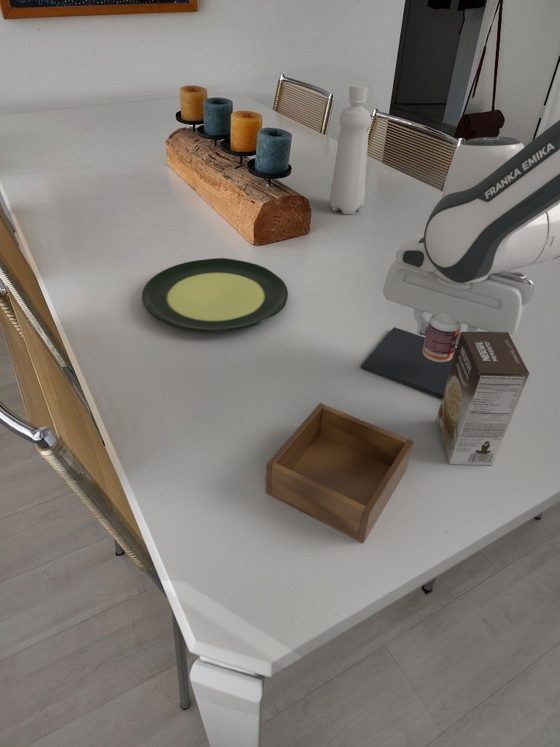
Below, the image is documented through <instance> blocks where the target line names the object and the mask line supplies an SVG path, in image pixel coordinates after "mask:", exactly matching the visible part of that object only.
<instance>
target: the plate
mask: <svg viewBox="0 0 560 747" xmlns="http://www.w3.org/2000/svg"><path fill="white" fill-rule="evenodd" d="M288 297H289V291H288V287H287V284H286V283H285V282H284V280H283V279H282V278H281V277H279V275H277V274H275V273H274V272H273V271H271V270H269V268H266V267H264V266H262V265H259V264H256V263H254V262H253V263H252V262H249V261H244V260H239V259H233V258H228V257H227V258H226V257H216V258H205V259H196V260H191V261H186V262H181V263H179V264H175V265H173V266H170V267H167V268H165V269H164V270H162V271H160V272H158V273H156V274H155V275H154V276H153V277H151V278H150V279H149V280H148V281H147V282H146V283H145V285H144V287H143V289H142V291H141V301H142V304H143V307H144V308H145V309H146V311H147V312H148V313H149V314H150V315H151V316H153V317H154V318H155V319H158V320H159V321H162V322H164V323H166V324H169V325H170V326H174V327H175V328H179V329H184V330H189V331H195V332H227V331H229V332H230V331H236V330H240V329H247V328H249V327H253V326H256V325H259V324H261V323H263V322H265V321H267V320H269V319H271V318H273V317H274V316H276V315H277V314H279V313H280V312H281V311H282V310H283V309H284V308H285V307H286V304H287V301H288V299H289V298H288Z"/></svg>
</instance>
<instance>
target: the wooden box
mask: <svg viewBox="0 0 560 747" xmlns="http://www.w3.org/2000/svg"><path fill="white" fill-rule="evenodd" d="M413 446H414V441H413V440H410V439H408V438H406V437H404V436H401V435H398V434H396V433H394V432H391V431H389V430H386V429H384V428H381V427H380V426H376V425H374V424H372V423H369V422H367V421H365V420H362V419H360V418H358V417H355V416H353V415H350V414H348V413H345V412H343V411H341V410H338V409H336V408H334V407H331V406H328V405H326V404H324V403H322V402H320V403H319V404H318V405H317V406H316V407H315V408H314V409H313V411H311V413H310V414H309V415H308V416H307V417H306V419H304V420H303V422H302V423H301V424H300V425H299V426H298V427H297V428H296V429H295V431H294V432H293V433H292V434H291V435H290V436H289V438H288V439H287V440H286V441H285V442H284V443H283V445H281V447H280V448H278V450H277V451H276V452H275V453H274V455H273V456H272V457H271V458H270V459H269V460H268V462H267V463H266V467H265V468H266V469H265V470H266V471H265V473H266V474H265V494H266V495H269V496H270V497H273V498H274V499H276V500H278V501H280V502H282V503H284V504H286V505H288V506H290V507H292V508H294V509H296V510H298V511H299V512H301V513H304V514H305V515H307V516H309V517H311V518H313V519H315V520H317V521H319V522H321V523H323V524H325V525H327V526H329V527H331V528H332V529H335V530H336V531H339V532H340V533H342V534H344V535H346V536H348V537H350V538H351V539H353V540H356V541H358V542H360V543H362V544H364V543H365V542H366V539H367V538H368V537H369V535H370V533H371V532H372V530H373V528H374V526H375V525H376V522H377V521H378V519H379V518H380V516H381V515H382V513H383V512H384V509H385V507H386V506H387V504H388V502H389V501H390V499H391V497H392V496H393V495H394V493H395V490H396V489H397V487H398V485H399V484H400V482H401V480H402V478H403V477H404V476H405V474H406V472H407V470H408V465H409V461H410V457H411V454H412V450H413Z"/></svg>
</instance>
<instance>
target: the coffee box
mask: <svg viewBox="0 0 560 747" xmlns="http://www.w3.org/2000/svg"><path fill="white" fill-rule="evenodd" d="M460 332H461V334H460V337H459V341H458V345H457V346H456V352H455V355H454V359H453V362H452V366H451V369H450V373H449V376H448V380H447V383H446V387H445V390H444V394H443V398H441V400H440V405H439V409H438V411H437V414H436V415H437V416H436V419H435V421H436V424H437V429H438V432H439V434H440V439H441V441H442V445H443V449H444V452H445V456H446V459H447V462H448V464H449V465H467V466H468V465H469V466H493V465H494V462H495V460H496V458H497V455H498V452H499V450H500V448H501V446H502V443H503V440H504V438H505V435H506V432H507V430H508V428H509V425H510V423H511V421H512V418H513V416H514V413H515V410H516V409H517V405H518V403H519V401H520V398H521V396H522V393H523V391H524V388H525V386H526V385H527V384H526V383H527V381H528V379H529V376H530V374H531V373H530V371H529V369H528V367H527V366H526V364H525V362H524V360H523V358H522V356H521V355H520V352H519V351H518V349H517V347H516V345H515V343H514V341H513V339H512V337H511V335H509V333H508V332H489V331H482V330H480V331H478V330H477V332H467V331H460Z"/></svg>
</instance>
